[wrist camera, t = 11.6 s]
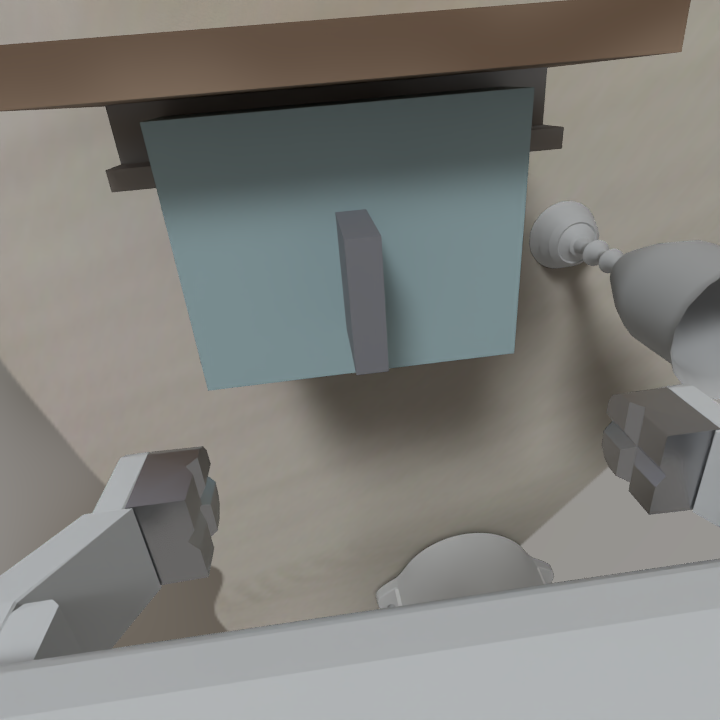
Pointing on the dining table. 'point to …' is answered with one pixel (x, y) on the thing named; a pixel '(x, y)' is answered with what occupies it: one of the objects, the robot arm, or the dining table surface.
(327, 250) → the cabinet
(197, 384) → the dining table surface
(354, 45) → the wall board
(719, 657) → the robot arm
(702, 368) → the chalice
